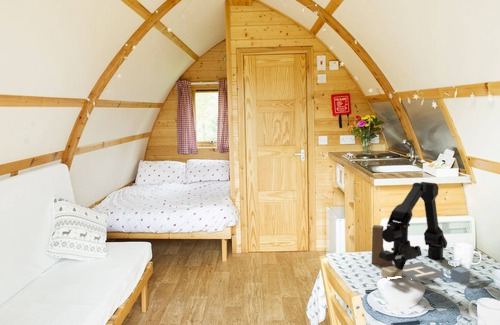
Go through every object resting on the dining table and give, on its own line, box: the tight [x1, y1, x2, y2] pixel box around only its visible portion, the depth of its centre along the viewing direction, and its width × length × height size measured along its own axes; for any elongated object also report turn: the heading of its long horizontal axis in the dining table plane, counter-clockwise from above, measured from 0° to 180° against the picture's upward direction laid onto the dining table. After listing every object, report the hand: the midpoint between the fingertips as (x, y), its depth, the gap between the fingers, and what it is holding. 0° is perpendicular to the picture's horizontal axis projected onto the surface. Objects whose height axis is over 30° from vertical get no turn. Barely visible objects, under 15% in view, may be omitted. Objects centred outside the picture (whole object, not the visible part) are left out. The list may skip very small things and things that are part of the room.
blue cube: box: [450, 266, 471, 284], centre depth 184 cm, size 5×5×5 cm
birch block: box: [380, 265, 403, 278], centre depth 189 cm, size 6×6×4 cm
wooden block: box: [371, 224, 394, 267], centre depth 204 cm, size 9×4×18 cm, turn 65°
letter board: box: [402, 262, 445, 283], centre depth 195 cm, size 18×18×1 cm
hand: (399, 272), depth 190 cm, fingers closed
